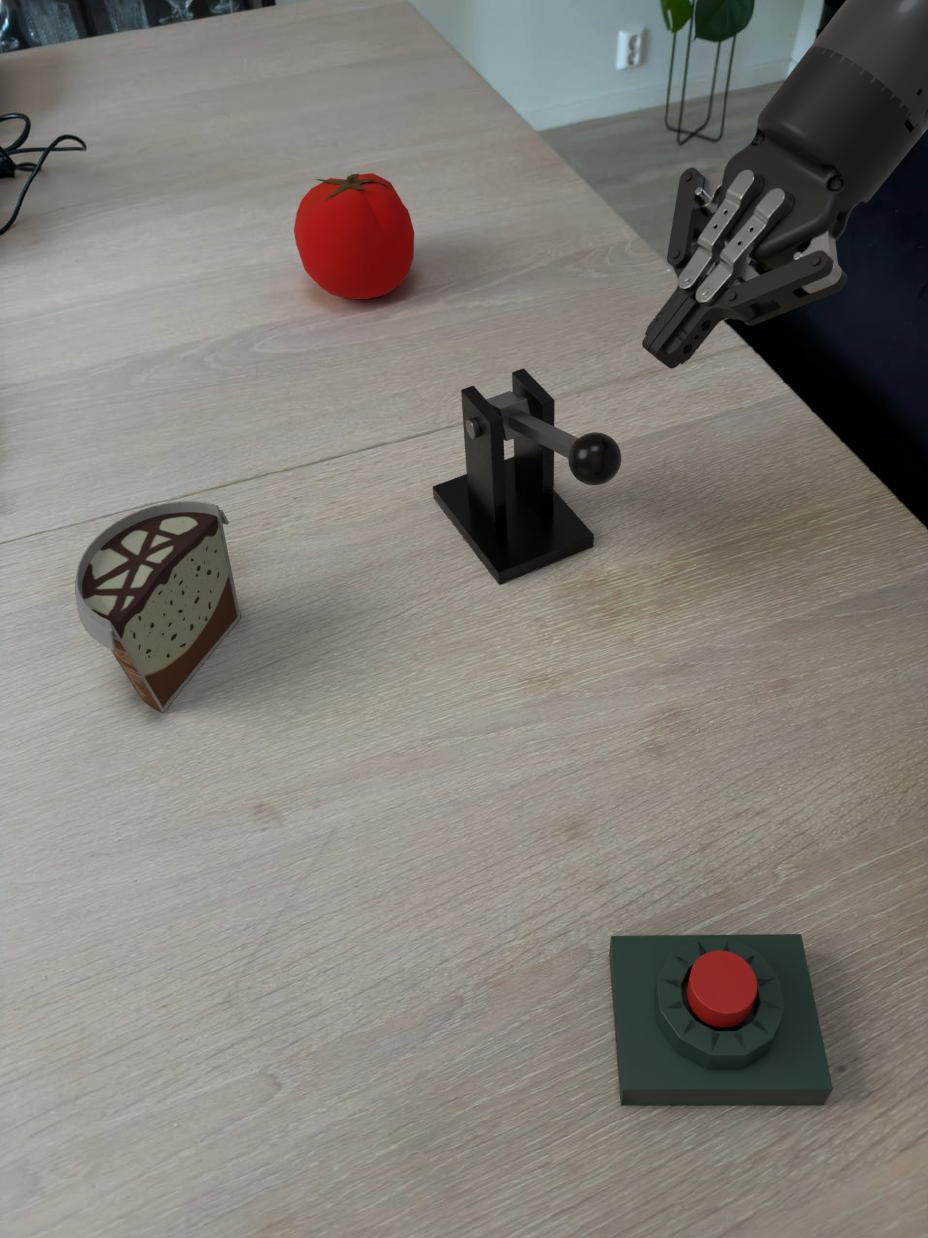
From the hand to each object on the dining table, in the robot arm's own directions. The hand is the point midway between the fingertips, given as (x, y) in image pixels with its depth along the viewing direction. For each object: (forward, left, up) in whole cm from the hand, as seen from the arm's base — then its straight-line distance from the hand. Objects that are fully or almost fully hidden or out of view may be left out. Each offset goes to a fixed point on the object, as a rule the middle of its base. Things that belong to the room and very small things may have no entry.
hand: (657, 357), depth 63 cm
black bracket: (+12, +1, -20) cm, 23 cm away
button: (-23, +21, -16) cm, 35 cm away
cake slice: (+20, +27, -20) cm, 39 cm away
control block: (-23, +21, -20) cm, 37 cm away
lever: (+6, +2, -9) cm, 11 cm away
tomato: (+47, -13, -20) cm, 53 cm away
